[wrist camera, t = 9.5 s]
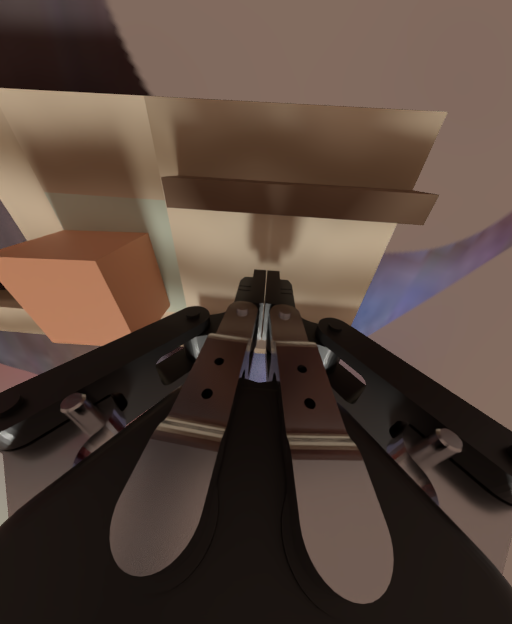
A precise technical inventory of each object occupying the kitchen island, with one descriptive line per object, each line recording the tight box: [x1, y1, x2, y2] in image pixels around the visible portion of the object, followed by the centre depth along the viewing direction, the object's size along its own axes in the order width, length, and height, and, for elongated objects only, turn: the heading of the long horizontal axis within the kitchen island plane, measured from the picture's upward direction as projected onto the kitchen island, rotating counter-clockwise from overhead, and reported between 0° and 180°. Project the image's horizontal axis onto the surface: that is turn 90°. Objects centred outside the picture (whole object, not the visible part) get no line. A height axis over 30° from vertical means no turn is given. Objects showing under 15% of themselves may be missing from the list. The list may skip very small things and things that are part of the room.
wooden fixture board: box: [0, 88, 447, 354], centre depth 14 cm, size 16×35×4 cm, turn 87°
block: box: [0, 230, 170, 346], centre depth 12 cm, size 6×6×4 cm
